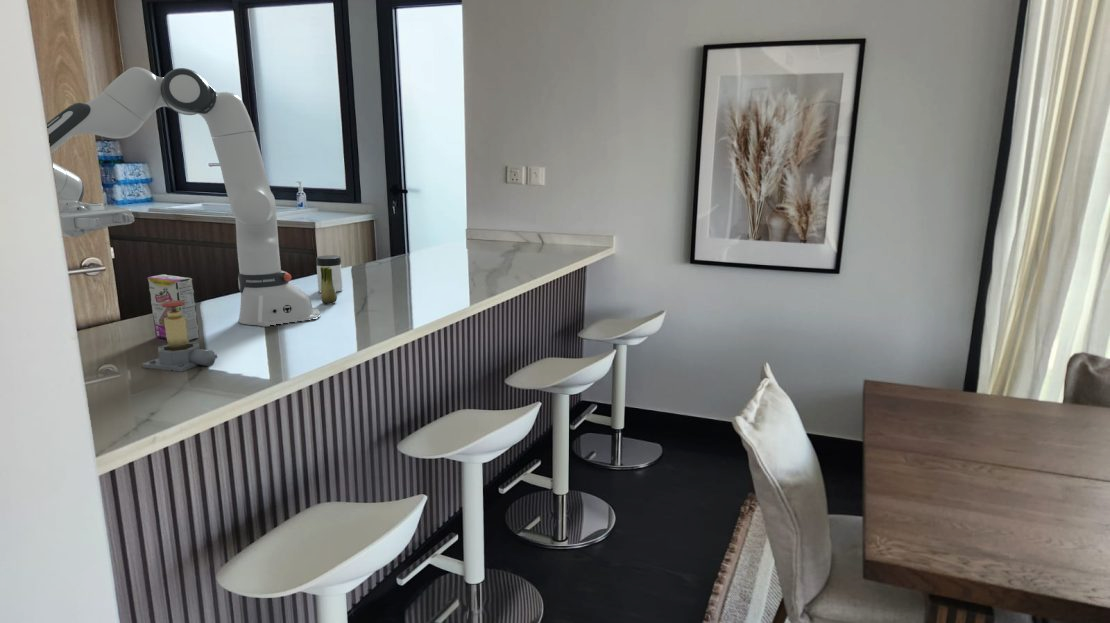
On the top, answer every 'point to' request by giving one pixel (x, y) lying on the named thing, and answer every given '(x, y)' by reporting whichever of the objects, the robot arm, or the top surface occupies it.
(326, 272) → the fennel bulb
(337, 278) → the jar
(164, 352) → the fitting
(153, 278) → the candy bar box
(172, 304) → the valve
